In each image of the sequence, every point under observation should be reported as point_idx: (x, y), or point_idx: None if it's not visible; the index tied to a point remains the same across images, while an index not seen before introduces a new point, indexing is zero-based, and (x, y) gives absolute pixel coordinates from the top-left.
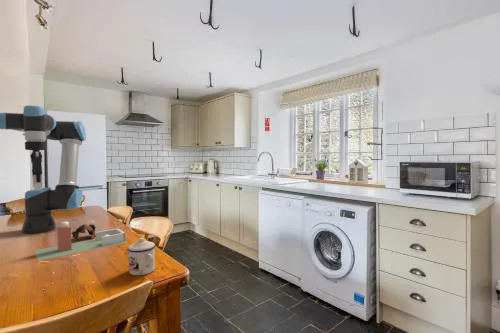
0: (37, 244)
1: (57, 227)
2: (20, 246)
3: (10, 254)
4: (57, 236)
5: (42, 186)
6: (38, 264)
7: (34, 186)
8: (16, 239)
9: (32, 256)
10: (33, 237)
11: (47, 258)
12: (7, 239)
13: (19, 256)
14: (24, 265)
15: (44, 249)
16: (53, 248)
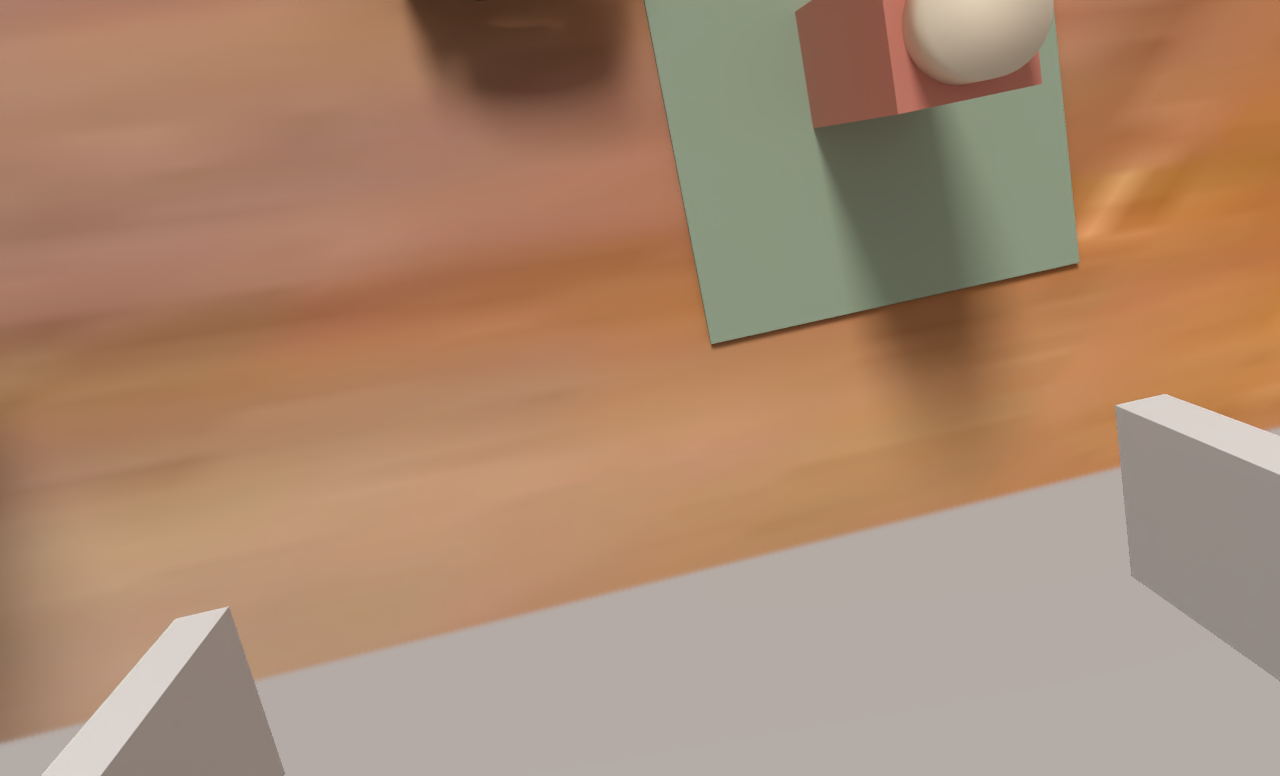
0: (463, 363)
1: (932, 105)
2: (458, 508)
3: (713, 526)
4: (859, 120)
5: (1230, 420)
6: (1169, 238)
7: (1217, 621)
8: (113, 615)
9: (896, 329)
10: (98, 463)
11: (1065, 187)
12: (68, 702)
13: (827, 437)
14: (1124, 342)
15: (733, 259)
16: (746, 177)
